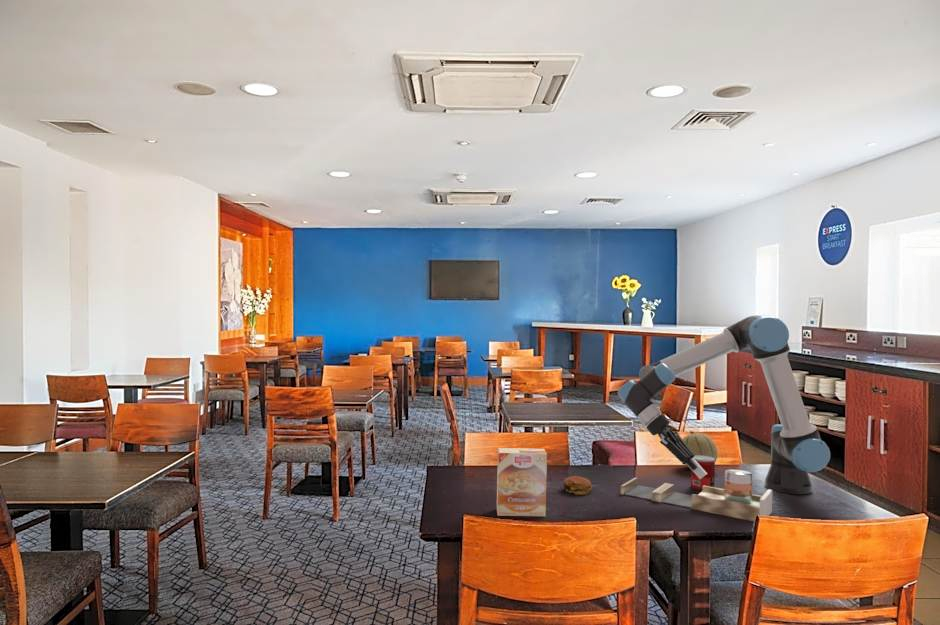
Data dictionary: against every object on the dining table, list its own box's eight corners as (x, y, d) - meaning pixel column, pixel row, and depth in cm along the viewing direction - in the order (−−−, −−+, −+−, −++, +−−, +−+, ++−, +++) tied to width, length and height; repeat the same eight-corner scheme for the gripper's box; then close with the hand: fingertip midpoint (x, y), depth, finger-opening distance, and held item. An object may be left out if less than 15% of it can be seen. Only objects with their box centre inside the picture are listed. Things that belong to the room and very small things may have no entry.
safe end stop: (721, 514, 193) (721, 492, 193) (731, 504, 204) (731, 482, 204) (763, 523, 186) (764, 500, 186) (771, 511, 197) (772, 489, 197)
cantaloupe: (716, 476, 238) (716, 437, 238) (676, 471, 244) (676, 433, 244) (718, 467, 252) (719, 430, 251) (680, 463, 258) (681, 427, 258)
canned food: (716, 492, 217) (716, 461, 217) (692, 490, 219) (692, 459, 219) (712, 486, 225) (712, 455, 225) (689, 484, 226) (689, 454, 226)
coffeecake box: (497, 516, 189) (498, 452, 188) (496, 508, 196) (497, 447, 195) (546, 517, 189) (547, 453, 188) (543, 509, 196) (544, 447, 196)
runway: (620, 494, 213) (620, 481, 213) (634, 485, 224) (635, 473, 224) (759, 522, 187) (759, 507, 187) (767, 510, 198) (768, 496, 198)
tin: (743, 496, 202) (744, 469, 202) (756, 504, 194) (757, 476, 194) (719, 496, 202) (720, 469, 202) (731, 504, 194) (732, 476, 194)
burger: (587, 487, 221) (587, 474, 221) (594, 495, 212) (594, 481, 212) (560, 487, 220) (560, 474, 220) (566, 495, 211) (566, 482, 211)
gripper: (652, 424, 219) (700, 478, 210) (639, 430, 209) (689, 487, 199) (667, 410, 216) (717, 465, 207) (655, 416, 206) (706, 474, 196)
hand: (703, 476), depth 203 cm, fingers closed
